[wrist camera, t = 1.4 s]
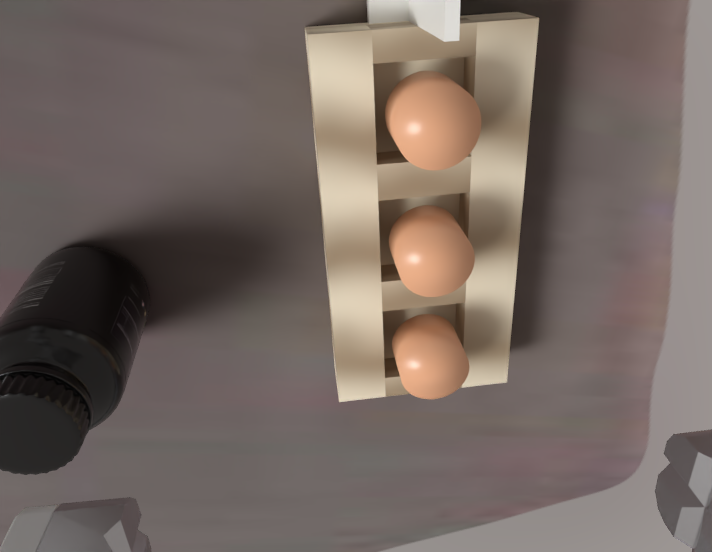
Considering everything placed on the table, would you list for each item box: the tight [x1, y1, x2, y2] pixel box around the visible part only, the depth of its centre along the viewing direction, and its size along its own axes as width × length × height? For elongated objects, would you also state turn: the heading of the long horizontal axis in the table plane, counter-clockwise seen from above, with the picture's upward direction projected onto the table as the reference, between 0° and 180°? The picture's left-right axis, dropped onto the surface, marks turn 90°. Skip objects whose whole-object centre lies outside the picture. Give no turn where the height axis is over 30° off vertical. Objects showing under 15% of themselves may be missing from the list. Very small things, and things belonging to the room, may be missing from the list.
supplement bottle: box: [0, 247, 150, 475], centre depth 31 cm, size 7×7×12 cm
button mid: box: [389, 205, 475, 297], centre depth 32 cm, size 4×4×3 cm
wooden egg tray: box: [305, 12, 539, 402], centre depth 35 cm, size 22×11×3 cm, turn 3°
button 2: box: [385, 71, 481, 171], centre depth 29 cm, size 4×4×3 cm
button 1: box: [392, 314, 469, 399], centre depth 35 cm, size 4×4×3 cm
